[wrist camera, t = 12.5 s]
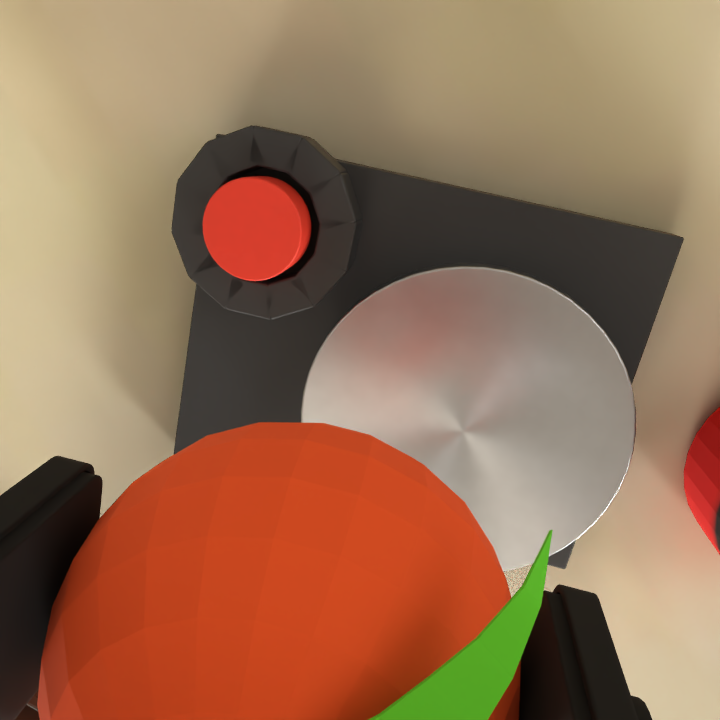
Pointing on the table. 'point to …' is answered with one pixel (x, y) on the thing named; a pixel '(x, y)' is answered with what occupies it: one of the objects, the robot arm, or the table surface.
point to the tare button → (256, 227)
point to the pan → (486, 397)
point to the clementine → (288, 591)
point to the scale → (377, 270)
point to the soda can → (705, 478)
